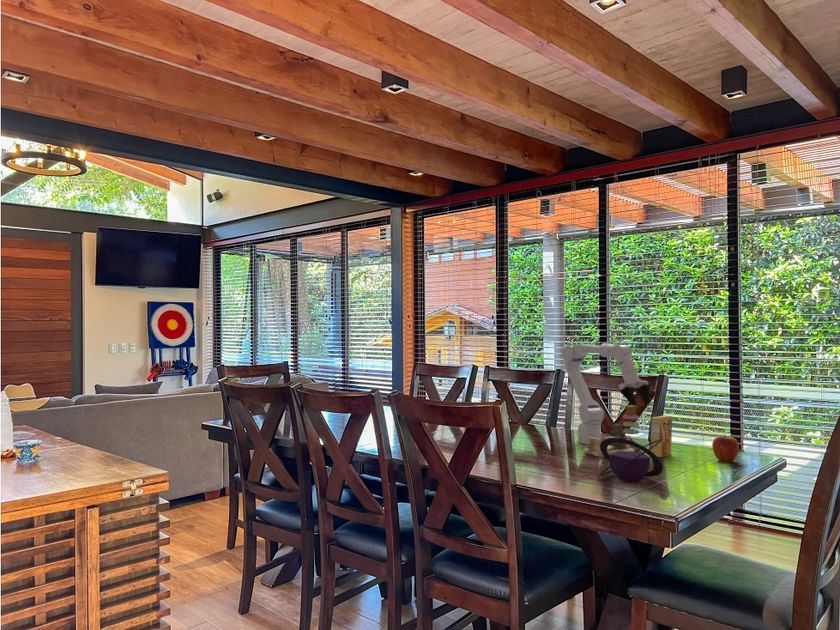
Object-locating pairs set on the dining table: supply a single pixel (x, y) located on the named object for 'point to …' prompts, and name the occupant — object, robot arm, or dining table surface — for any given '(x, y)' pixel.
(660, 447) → the candy box
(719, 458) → the apple
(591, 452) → the pipe stand
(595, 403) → the robot arm
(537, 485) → the dining table surface
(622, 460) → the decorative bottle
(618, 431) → the dark grey z bracket
